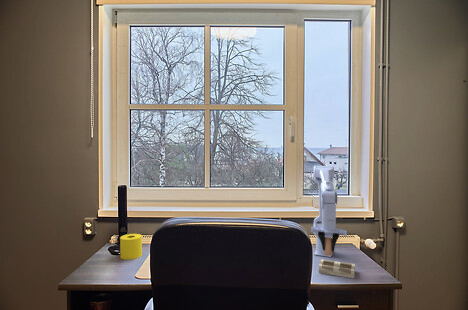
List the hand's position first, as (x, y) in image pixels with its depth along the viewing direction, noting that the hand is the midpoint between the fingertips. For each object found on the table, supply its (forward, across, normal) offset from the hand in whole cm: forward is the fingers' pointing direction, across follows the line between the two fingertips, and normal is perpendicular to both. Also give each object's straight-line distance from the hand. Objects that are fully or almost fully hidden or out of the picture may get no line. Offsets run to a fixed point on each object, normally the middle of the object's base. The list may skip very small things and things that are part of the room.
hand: (328, 250), depth 129 cm
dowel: (+2, 0, 0) cm, 2 cm away
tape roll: (+9, -90, -20) cm, 93 cm away
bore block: (+9, +4, 0) cm, 9 cm away
